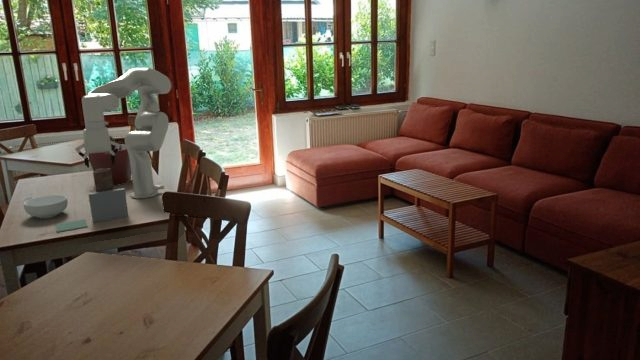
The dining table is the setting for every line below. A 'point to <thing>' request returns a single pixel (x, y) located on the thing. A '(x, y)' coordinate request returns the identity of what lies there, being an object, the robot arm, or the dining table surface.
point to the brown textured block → (103, 180)
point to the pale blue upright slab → (108, 204)
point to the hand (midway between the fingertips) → (100, 165)
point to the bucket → (121, 164)
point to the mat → (71, 225)
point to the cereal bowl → (46, 206)
